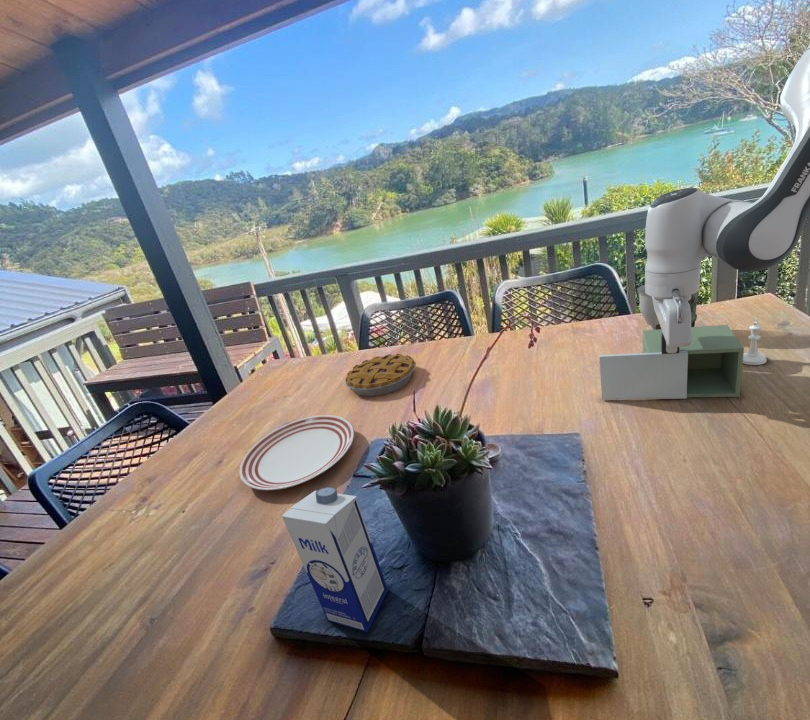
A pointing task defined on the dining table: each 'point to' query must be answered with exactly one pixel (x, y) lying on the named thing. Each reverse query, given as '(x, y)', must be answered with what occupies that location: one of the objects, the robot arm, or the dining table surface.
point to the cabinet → (707, 360)
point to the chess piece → (754, 347)
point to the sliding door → (644, 375)
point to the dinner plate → (296, 452)
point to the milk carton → (338, 556)
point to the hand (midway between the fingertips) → (670, 348)
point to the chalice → (647, 308)
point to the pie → (380, 375)
